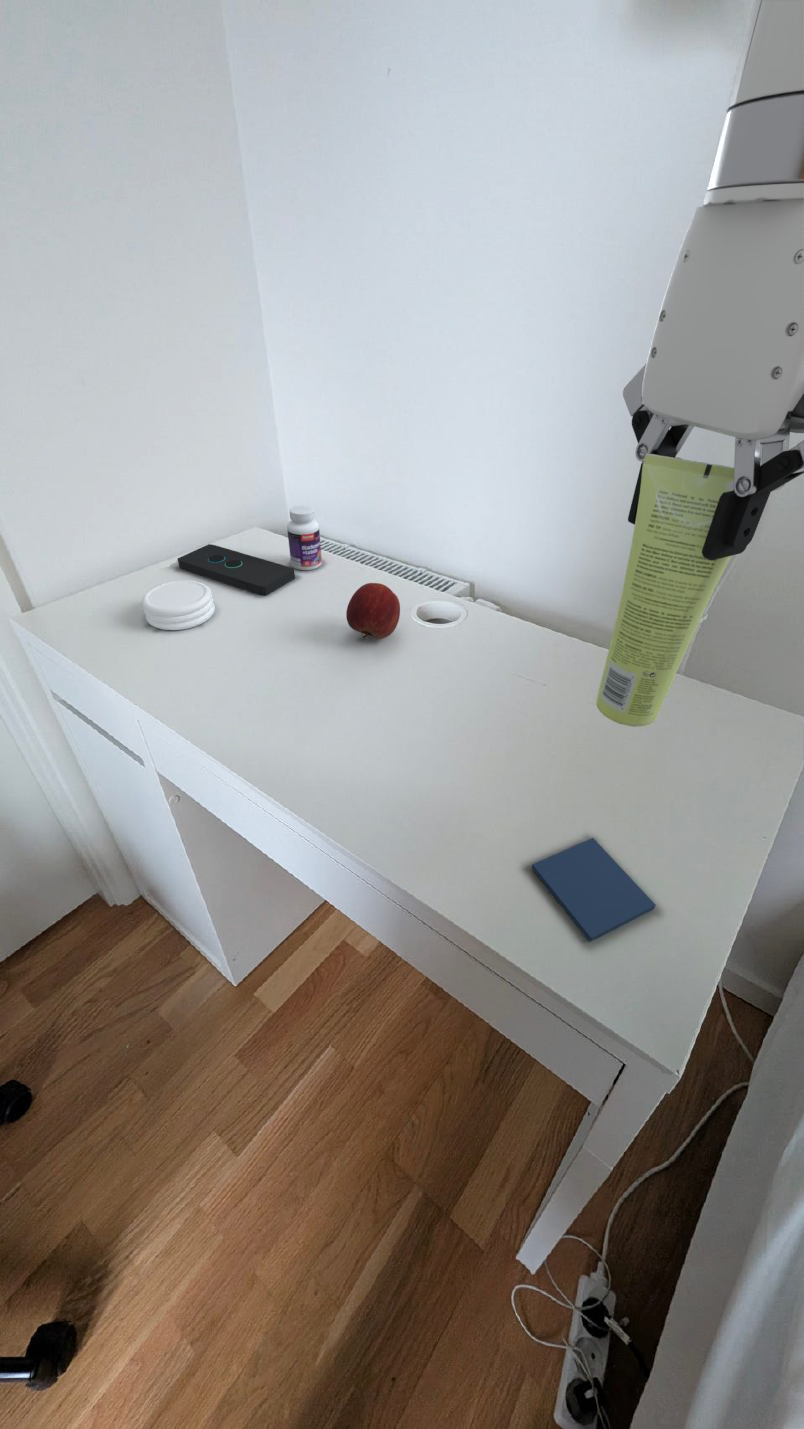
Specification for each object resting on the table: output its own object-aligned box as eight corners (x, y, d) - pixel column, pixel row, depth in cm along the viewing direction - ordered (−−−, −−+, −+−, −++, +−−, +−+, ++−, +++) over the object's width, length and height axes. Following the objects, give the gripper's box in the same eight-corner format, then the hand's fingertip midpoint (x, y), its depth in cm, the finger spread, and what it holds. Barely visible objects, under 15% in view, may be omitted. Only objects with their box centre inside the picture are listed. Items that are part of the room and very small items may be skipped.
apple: (411, 638, 83) (412, 587, 78) (366, 655, 79) (364, 603, 74) (381, 617, 88) (380, 568, 83) (337, 633, 84) (334, 582, 79)
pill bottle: (306, 574, 99) (300, 517, 93) (285, 565, 102) (278, 510, 96) (328, 563, 102) (324, 508, 96) (307, 555, 105) (301, 501, 99)
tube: (643, 687, 50) (723, 447, 38) (677, 724, 46) (777, 470, 34) (583, 695, 49) (645, 452, 37) (613, 734, 45) (692, 477, 33)
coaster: (225, 602, 91) (221, 581, 89) (199, 634, 83) (193, 613, 81) (165, 597, 92) (160, 576, 90) (134, 628, 85) (127, 607, 82)
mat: (654, 908, 49) (656, 905, 49) (589, 942, 47) (591, 938, 47) (591, 841, 55) (593, 837, 55) (531, 868, 52) (532, 864, 52)
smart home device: (210, 542, 105) (296, 567, 97) (212, 551, 106) (297, 577, 98) (174, 558, 99) (262, 586, 91) (176, 568, 100) (264, 596, 92)
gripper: (1066, 144, 22) (843, 578, 34) (710, 183, 35) (634, 491, 46) (951, 131, 20) (752, 604, 31) (611, 178, 32) (557, 505, 43)
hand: (683, 534), depth 38 cm, fingers closed on tube, 5 cm apart
